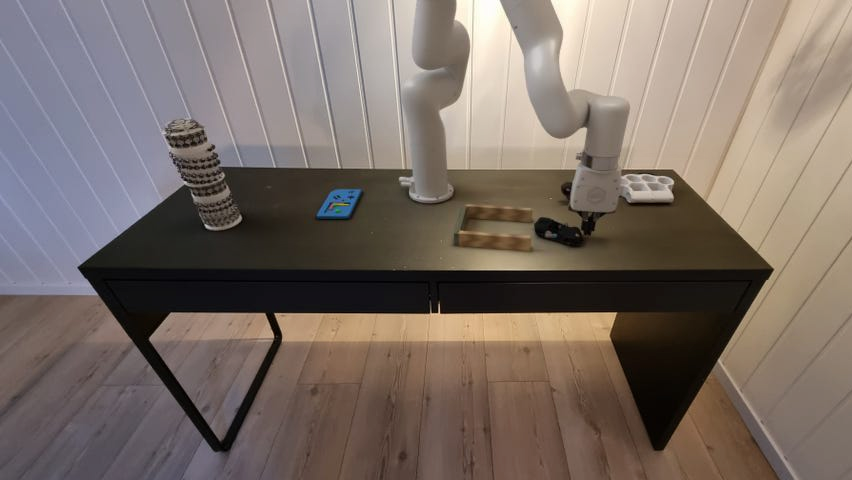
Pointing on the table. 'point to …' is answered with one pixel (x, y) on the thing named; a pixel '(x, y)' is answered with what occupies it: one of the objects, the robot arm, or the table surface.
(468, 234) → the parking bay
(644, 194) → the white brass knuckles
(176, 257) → the table surface
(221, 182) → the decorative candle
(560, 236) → the toy car
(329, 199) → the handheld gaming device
